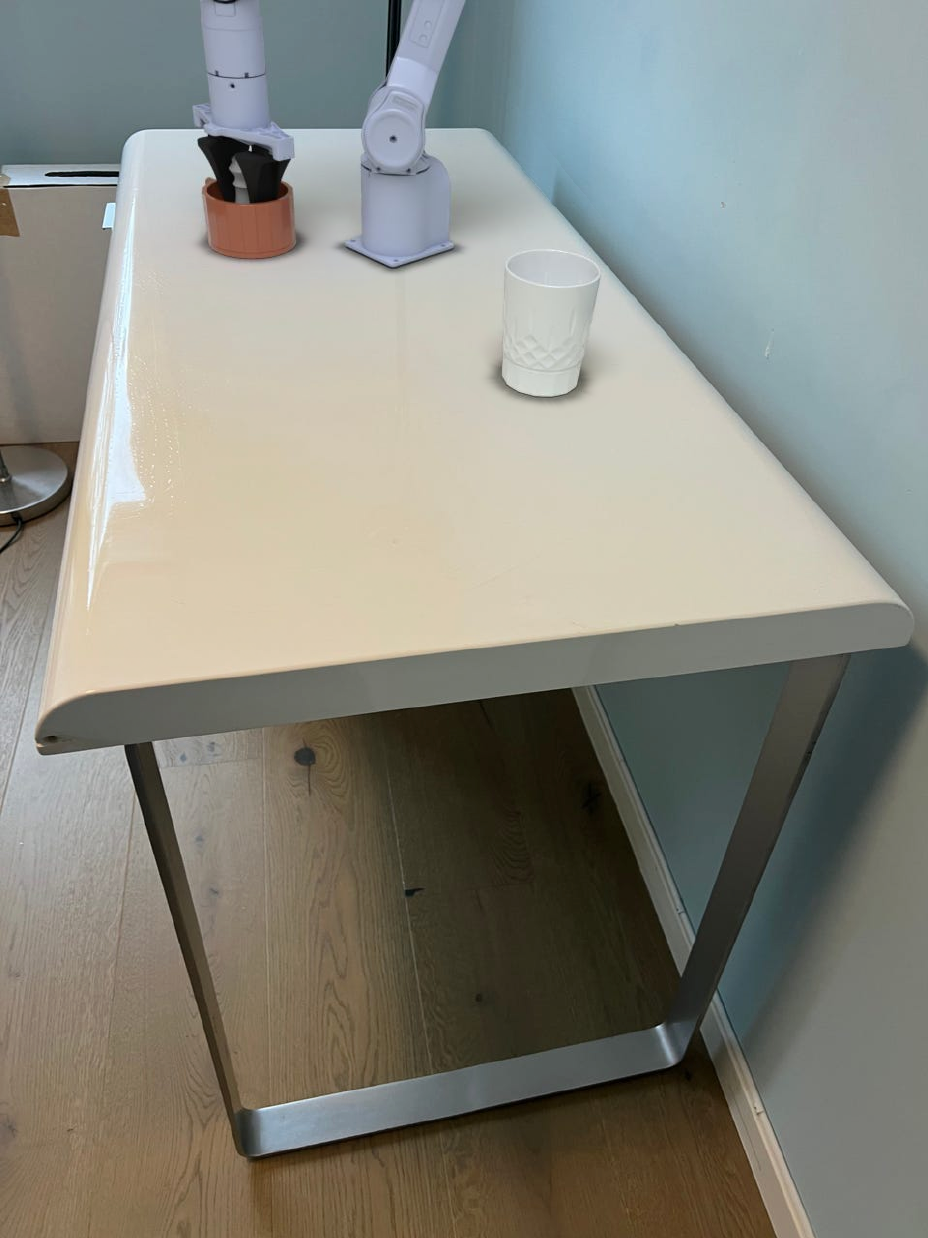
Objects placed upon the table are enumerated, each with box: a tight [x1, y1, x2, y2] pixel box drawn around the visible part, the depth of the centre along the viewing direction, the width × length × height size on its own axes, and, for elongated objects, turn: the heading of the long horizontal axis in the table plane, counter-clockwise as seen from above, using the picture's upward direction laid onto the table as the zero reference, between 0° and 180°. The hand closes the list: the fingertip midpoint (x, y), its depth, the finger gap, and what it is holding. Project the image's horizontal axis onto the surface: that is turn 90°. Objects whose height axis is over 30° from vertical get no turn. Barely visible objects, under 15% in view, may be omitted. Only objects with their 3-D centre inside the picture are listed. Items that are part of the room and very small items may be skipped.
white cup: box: [501, 248, 602, 398], centre depth 80 cm, size 8×8×10 cm
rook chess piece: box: [229, 156, 250, 204], centre depth 100 cm, size 4×4×8 cm
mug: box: [201, 176, 297, 260], centre depth 102 cm, size 12×9×6 cm
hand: (250, 214), depth 101 cm, fingers open, 4 cm apart
